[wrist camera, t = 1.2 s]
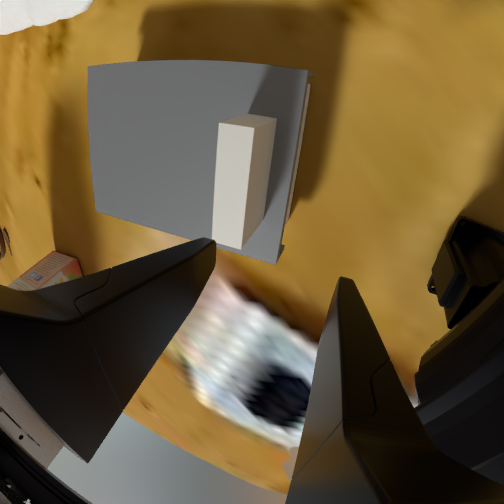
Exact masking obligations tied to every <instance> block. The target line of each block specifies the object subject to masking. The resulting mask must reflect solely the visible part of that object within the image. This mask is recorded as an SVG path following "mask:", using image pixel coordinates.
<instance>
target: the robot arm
mask: <svg viewBox="0 0 504 504" xmlns="http://www.w3.org/2000/svg"><path fill="white" fill-rule="evenodd" d="M461 222H465V223H464V225H463V226H460V223H461ZM215 263H216V241H215V240H213V239H209V238H206V237H202V238H199V239H196V240H193V241H190V242H186V243H183V244H180V245H177V246H174V247H171V248H168V249H165V250H162V251H159V252H156V253H153V254H150V255H147V256H144V257H141V258H138V259H135V260H132V261H129V262H126V263H123V264H120V265H117V266H114V267H112V269H111V268H108V269H105V270H102V271H100V272H96V273H93V274H90V275H87V276H84V277H80V278H77V279H73V280H70V281H66V282H62V283H59V284H55V285H51V286H48V287H44V288H40V289H36V290H31V291H21V290H16V289H12V288H9V287H6V286H3V285H0V504H25V503H26V502H27V499H29V500H31V501H30V503H31V504H92V503H91V502H89V501H88V500H86V499H85V498H84V497H82V496H81V495H80V494H78V493H77V492H75V491H74V490H72V489H71V488H70V487H68V486H67V485H66V484H65V483H64V482H62V481H61V480H60V479H58V478H57V477H56V476H55V475H54V474H52V473H51V472H50V471H49V470H47V468H48V466H49V465H50V463H51V462H52V461H53V459H54V458H55V457H56V455H57V454H58V453H59V451H60V450H61V449H62V447H63V446H64V447H66V448H67V449H68V450H69V451H71V452H72V453H74V454H75V455H76V456H78V457H79V458H80V459H82V460H83V461H85V462H86V463H89V461H90V460H91V459H92V457H93V456H94V454H95V452H96V451H97V449H98V448H99V446H100V445H101V443H102V442H103V440H104V439H105V437H106V436H107V434H108V433H109V431H110V430H111V428H112V427H113V425H114V424H115V422H116V421H117V419H118V418H119V416H120V415H121V413H122V412H123V410H124V408H125V407H126V406H127V404H128V403H129V401H130V400H131V398H132V397H133V395H134V394H135V392H136V391H137V389H138V388H139V386H140V385H141V383H142V382H143V380H144V379H145V377H146V376H147V374H148V373H149V371H150V370H151V368H152V367H153V366H154V364H155V363H156V361H157V360H158V358H159V357H160V355H161V354H162V352H163V351H164V349H165V348H166V346H167V345H168V344H169V342H170V341H171V339H172V338H173V336H174V335H175V333H176V332H177V330H178V329H179V328H180V326H181V325H182V323H183V322H184V320H185V319H186V317H187V316H188V315H189V313H190V312H191V310H192V309H193V307H194V305H195V304H196V302H197V300H198V298H199V296H200V294H201V293H202V291H203V289H204V287H205V285H206V283H207V281H208V279H209V277H210V275H211V274H212V272H213V270H214V267H215ZM433 285H435V287H434V288H432V286H433ZM427 287H428V291H429V292H430V293H433V294H436V295H437V297H438V302H439V305H440V306H442V307H444V310H445V315H446V321H447V326H448V328H449V329H451V330H450V331H449V332H448V333H446V334H445V335H444V336H443V337H442V338H441V339H440V340H438V341H436V342H434V343H433V344H432V345H431V346H430V348H429V349H428V350H427V351H426V352H425V353H424V355H423V356H422V357H421V361H420V365H419V371H418V372H416V373H415V376H414V380H415V390H416V394H417V399H418V403H419V405H418V406H417V407H415V408H414V407H413V405H412V403H411V402H410V400H409V398H408V396H407V394H406V392H405V390H404V388H403V386H402V384H401V382H400V380H399V378H398V375H397V373H396V371H395V369H394V367H393V364H392V362H391V360H390V358H389V355H388V353H387V351H386V348H385V346H384V344H383V342H382V340H381V337H380V335H379V333H378V331H377V329H376V326H375V324H374V322H373V320H372V318H371V316H370V314H369V311H368V309H367V307H366V305H365V303H364V301H363V299H362V297H361V295H360V293H359V291H358V289H357V287H356V285H355V283H354V281H353V280H352V279H349V278H345V277H339V279H338V282H337V285H336V288H335V291H334V294H333V297H332V300H331V303H330V306H329V310H328V314H327V317H326V321H325V325H324V328H323V332H322V335H321V338H320V342H319V346H318V351H317V357H316V363H315V369H314V375H313V381H312V386H311V392H310V397H309V403H308V408H307V413H306V418H305V423H304V428H303V432H302V437H301V441H300V446H299V450H298V455H297V459H296V464H295V468H294V472H293V476H292V480H291V483H290V487H289V491H288V495H287V499H286V503H285V504H504V232H501V231H499V230H497V229H494V228H492V227H489V226H487V225H484V224H482V223H479V222H477V221H474V220H471V219H469V218H466V217H463V216H461V217H458V218H457V219H456V221H455V224H454V226H453V229H452V231H451V234H450V236H449V238H448V241H445V242H444V243H443V245H442V248H441V250H440V252H439V254H438V257H437V259H436V261H435V263H434V265H433V268H432V276H431V278H430V280H429V282H428V284H427Z"/></svg>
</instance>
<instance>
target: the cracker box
mask: <svg viewBox="0 0 504 504" xmlns="http://www.w3.org/2000/svg"><path fill="white" fill-rule="evenodd" d="M80 277H83V275H82V272H81V269H80V266H79V263H78V260H77V259H76V258H73V257H70V256H68V255H65V254H62V253H59V252H56V251H52V252H51V253H50V254H48V255H47V256H46V257H44V258H43V259H42V260H40V261H39V262H38V263H37V264H35V265H34V266H32V267H31V268H30V269H29V270H27V271H26V272H25V273H24V274H22V275H21V276H20V277H19V278H17V279H16V280H15V281H14V282H13V283H11V284H10V285H9V286H8V287H9V288H12V289H16V290H21V291H31V290H36V289H40V288H44V287H48V286H51V285H55V284H59V283H62V282H66V281H70V280H73V279H77V278H80Z"/></svg>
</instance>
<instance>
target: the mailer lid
mask: <svg viewBox="0 0 504 504" xmlns="http://www.w3.org/2000/svg"><path fill="white" fill-rule="evenodd" d="M313 75H314V72H313V71H309V70H303V69H297V68H290V67H283V66H275V65H266V64H257V63H245V62H232V61H213V60H156V61H137V62H124V63H113V64H104V65H95V66H88V132H89V149H90V162H91V173H92V183H93V192H94V200H95V208H96V212H99V213H103V214H106V215H109V216H113V217H116V218H119V219H123V220H126V221H129V222H133V223H136V224H139V225H143V226H146V227H149V228H153V229H156V230H159V231H163V232H166V233H169V234H173V235H176V236H180V237H183V238H186V239H190V240H196V239H199V238H202V237H206V238H209V239H213V240H215V241H216V247H217V248H220V249H223V250H227V251H230V252H234V253H237V254H240V255H244V256H247V257H251V258H254V259H257V260H261V261H264V262H268V263H271V264H275V265H276V263H277V261H278V260H279V258H280V256H281V254H282V252H283V250H284V246H285V245H282V244H281V243H282V237H283V232H284V226H285V221H286V215H287V209H288V204H289V198H290V192H291V186H292V180H293V175H294V169H295V163H296V157H297V150H298V144H299V138H300V132H301V126H302V119H303V113H304V106H305V100H306V93H307V86H308V79H309V76H311V77H313Z"/></svg>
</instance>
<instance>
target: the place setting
mask: <svg viewBox="0 0 504 504" xmlns="http://www.w3.org/2000/svg"><path fill="white" fill-rule="evenodd" d="M3 235H4V238H5V240H6V242H7V245H8V248H9V250H10V253H11V249H10V246H9V243H10V241H9V237H8V234H7V232H6V230H4V229H3ZM0 247H1V253H0V260H1V259H2V258H3V257H4V255H5V243H4V239H3V236H2V233H1V230H0ZM11 255H12V253H11Z"/></svg>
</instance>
